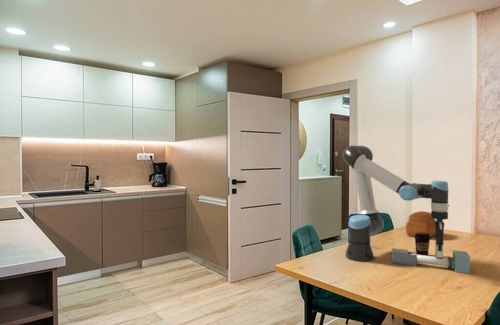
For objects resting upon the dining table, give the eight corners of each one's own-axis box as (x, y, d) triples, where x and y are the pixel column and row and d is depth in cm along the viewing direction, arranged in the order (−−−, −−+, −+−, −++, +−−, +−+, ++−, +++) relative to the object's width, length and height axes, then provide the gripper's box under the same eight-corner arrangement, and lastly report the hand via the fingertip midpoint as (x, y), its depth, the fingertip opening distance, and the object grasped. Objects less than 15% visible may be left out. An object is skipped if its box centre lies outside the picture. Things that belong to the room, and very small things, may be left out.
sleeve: (391, 263, 173) (391, 251, 173) (392, 260, 179) (392, 248, 179) (416, 266, 168) (417, 254, 168) (416, 262, 174) (416, 250, 174)
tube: (407, 264, 171) (407, 238, 170) (406, 261, 176) (406, 236, 175) (462, 271, 160) (463, 243, 160) (460, 267, 165) (461, 240, 165)
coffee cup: (432, 258, 182) (433, 235, 182) (417, 257, 183) (417, 234, 183) (427, 253, 190) (427, 231, 190) (412, 253, 192) (412, 231, 192)
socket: (455, 272, 160) (455, 255, 160) (452, 266, 168) (452, 250, 168) (469, 273, 158) (470, 256, 157) (466, 268, 166) (466, 251, 166)
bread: (439, 234, 236) (439, 211, 236) (430, 240, 221) (430, 215, 221) (413, 231, 249) (413, 209, 248) (403, 236, 233) (403, 212, 233)
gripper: (450, 213, 157) (449, 261, 158) (445, 208, 172) (445, 252, 173) (432, 212, 161) (432, 259, 161) (429, 208, 175) (429, 250, 176)
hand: (439, 255), depth 167 cm, fingers closed on tube, 3 cm apart
